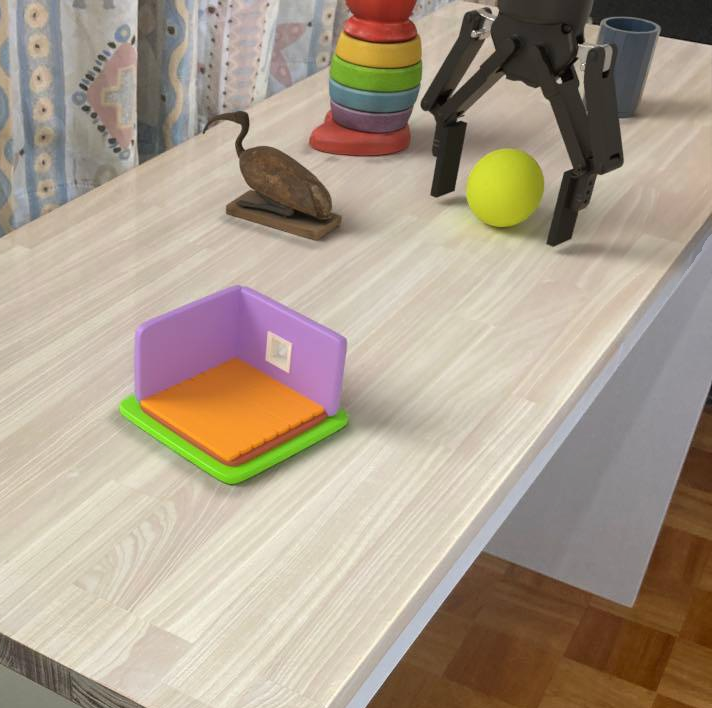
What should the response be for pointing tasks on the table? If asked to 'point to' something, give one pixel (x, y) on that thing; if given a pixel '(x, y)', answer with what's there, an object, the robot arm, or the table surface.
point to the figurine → (279, 189)
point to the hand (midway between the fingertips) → (498, 216)
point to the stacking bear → (372, 80)
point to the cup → (629, 58)
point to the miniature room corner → (236, 382)
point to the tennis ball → (505, 187)
